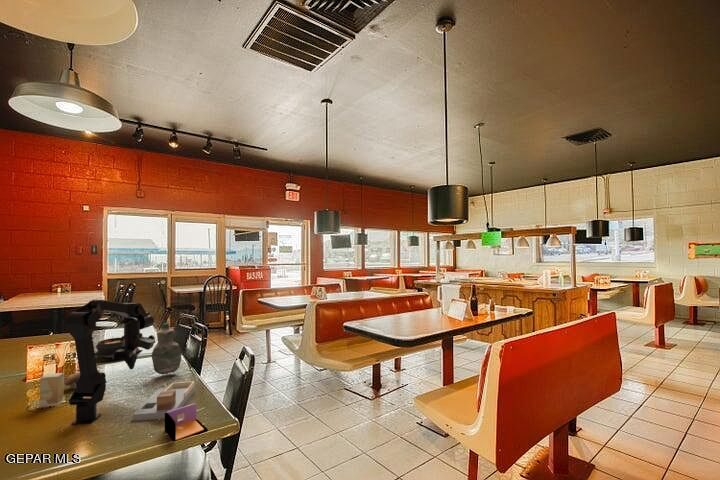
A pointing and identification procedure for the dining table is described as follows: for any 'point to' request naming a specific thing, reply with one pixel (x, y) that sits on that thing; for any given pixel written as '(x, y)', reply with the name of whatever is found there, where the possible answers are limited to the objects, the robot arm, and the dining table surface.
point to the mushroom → (72, 380)
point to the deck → (150, 406)
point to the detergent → (166, 352)
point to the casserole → (108, 347)
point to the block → (166, 400)
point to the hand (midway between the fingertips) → (131, 369)
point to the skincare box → (51, 389)
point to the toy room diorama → (183, 423)
